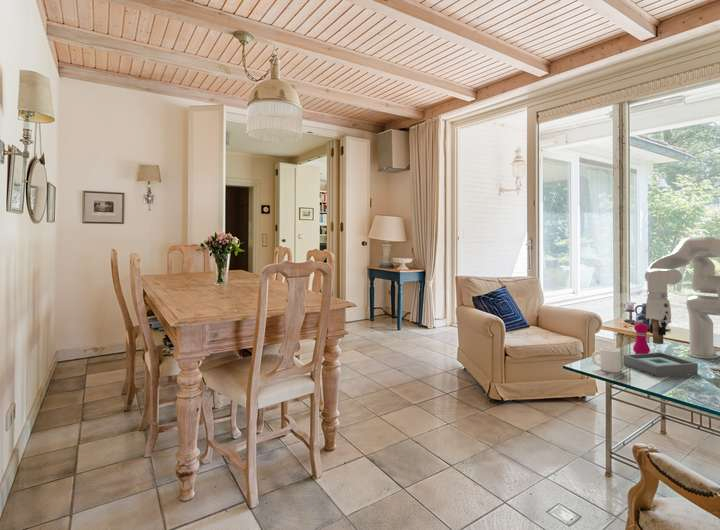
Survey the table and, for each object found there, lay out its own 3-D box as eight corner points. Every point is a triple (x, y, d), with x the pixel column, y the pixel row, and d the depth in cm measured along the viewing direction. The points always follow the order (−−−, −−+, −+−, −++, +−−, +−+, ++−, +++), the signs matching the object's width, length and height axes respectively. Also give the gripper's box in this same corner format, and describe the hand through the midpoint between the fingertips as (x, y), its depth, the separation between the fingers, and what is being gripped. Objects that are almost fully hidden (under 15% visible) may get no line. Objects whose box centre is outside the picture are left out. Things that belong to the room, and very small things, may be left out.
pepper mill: (652, 359, 205) (652, 321, 205) (637, 359, 207) (636, 321, 206) (645, 355, 212) (645, 318, 212) (630, 355, 214) (629, 319, 213)
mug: (591, 370, 194) (590, 349, 193) (592, 365, 200) (592, 345, 200) (620, 374, 187) (619, 352, 186) (621, 369, 193) (620, 348, 193)
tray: (661, 362, 201) (660, 352, 201) (697, 374, 181) (697, 363, 181) (623, 364, 199) (623, 355, 199) (656, 377, 180) (656, 366, 179)
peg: (658, 341, 192) (658, 317, 191) (665, 343, 188) (665, 318, 187) (650, 342, 191) (650, 317, 191) (657, 344, 187) (657, 319, 187)
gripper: (680, 297, 181) (680, 337, 181) (650, 293, 197) (651, 330, 198) (664, 298, 180) (665, 338, 181) (636, 294, 197) (636, 331, 198)
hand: (657, 333), depth 189 cm, fingers closed on peg, 4 cm apart
